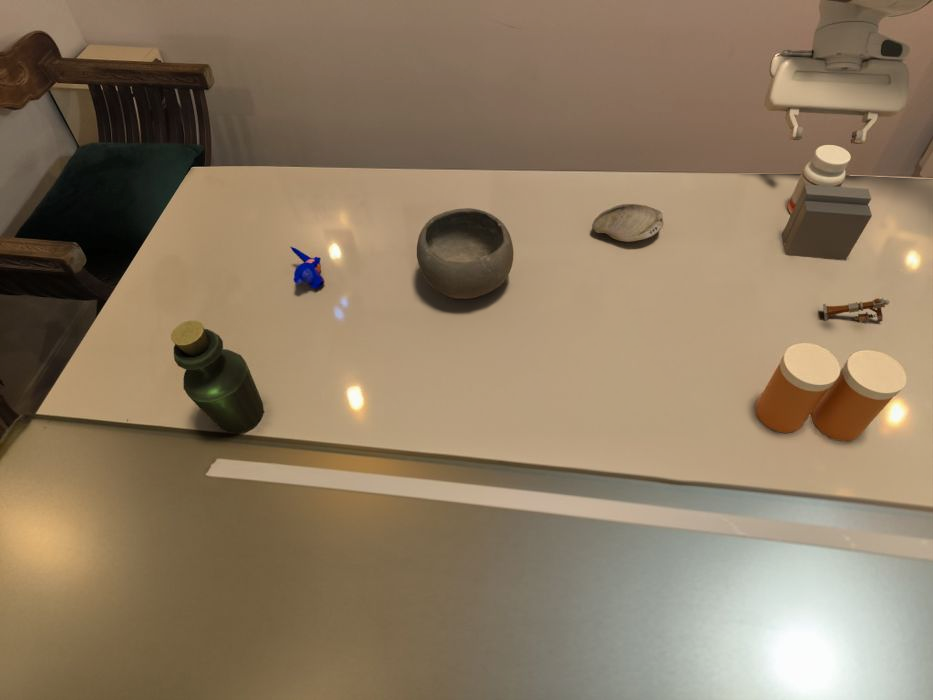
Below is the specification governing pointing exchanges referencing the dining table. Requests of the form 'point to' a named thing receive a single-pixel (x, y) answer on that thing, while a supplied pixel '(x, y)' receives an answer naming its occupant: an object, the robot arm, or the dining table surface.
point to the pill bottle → (822, 170)
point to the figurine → (308, 270)
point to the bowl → (465, 252)
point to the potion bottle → (216, 378)
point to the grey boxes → (827, 221)
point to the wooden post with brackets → (856, 307)
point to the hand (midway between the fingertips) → (826, 141)
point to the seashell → (629, 222)
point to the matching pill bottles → (829, 390)
